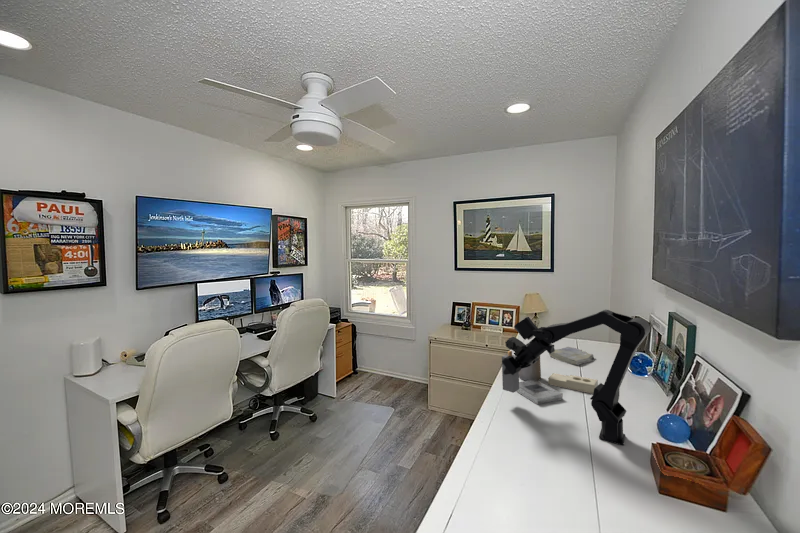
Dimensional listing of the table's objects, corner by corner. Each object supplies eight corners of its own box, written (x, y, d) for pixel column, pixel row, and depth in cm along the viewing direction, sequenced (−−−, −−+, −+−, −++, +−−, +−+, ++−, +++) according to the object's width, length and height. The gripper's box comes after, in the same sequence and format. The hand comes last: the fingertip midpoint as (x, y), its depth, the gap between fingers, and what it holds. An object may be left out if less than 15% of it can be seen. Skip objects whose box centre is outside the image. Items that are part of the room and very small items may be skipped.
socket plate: (562, 399, 132) (562, 393, 132) (537, 404, 129) (537, 398, 128) (535, 384, 147) (535, 379, 147) (512, 388, 144) (511, 383, 144)
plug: (519, 389, 130) (518, 351, 129) (513, 392, 127) (512, 354, 126) (508, 385, 133) (507, 349, 133) (502, 389, 130) (501, 351, 130)
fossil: (599, 360, 178) (569, 350, 193) (599, 352, 177) (569, 343, 192) (576, 369, 168) (546, 358, 183) (576, 361, 168) (546, 350, 183)
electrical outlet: (552, 371, 152) (597, 379, 141) (553, 379, 153) (598, 389, 141) (548, 375, 147) (594, 385, 135) (548, 384, 147) (594, 395, 136)
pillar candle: (537, 373, 160) (536, 343, 159) (543, 381, 150) (542, 348, 149) (516, 374, 161) (515, 343, 160) (521, 382, 151) (520, 349, 150)
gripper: (530, 327, 132) (506, 349, 141) (505, 336, 120) (480, 360, 129) (550, 350, 127) (524, 372, 136) (527, 363, 114) (499, 385, 123)
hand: (507, 371), depth 131 cm, fingers closed on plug, 4 cm apart
